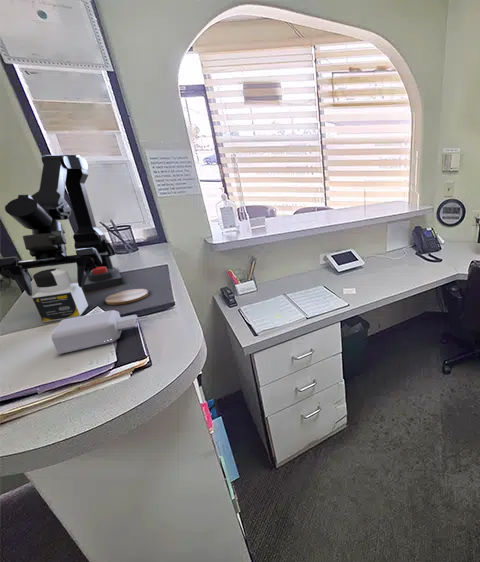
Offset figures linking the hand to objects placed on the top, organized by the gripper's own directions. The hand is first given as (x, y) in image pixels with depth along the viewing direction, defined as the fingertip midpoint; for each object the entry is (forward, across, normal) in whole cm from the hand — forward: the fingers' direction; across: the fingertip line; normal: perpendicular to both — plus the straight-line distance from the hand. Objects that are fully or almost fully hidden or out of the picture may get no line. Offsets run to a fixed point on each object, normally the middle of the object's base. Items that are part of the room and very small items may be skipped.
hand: (55, 290), depth 77 cm
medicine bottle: (+4, 0, +6) cm, 7 cm away
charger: (+19, +10, -9) cm, 23 cm away
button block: (-12, +6, +22) cm, 26 cm away
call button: (-15, +6, +19) cm, 25 cm away
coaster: (+1, +13, +8) cm, 15 cm away
